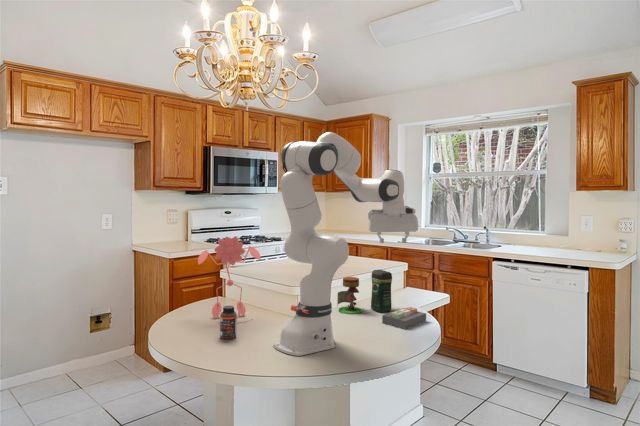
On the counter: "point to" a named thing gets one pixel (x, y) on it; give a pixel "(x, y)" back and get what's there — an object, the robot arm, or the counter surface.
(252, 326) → the counter surface
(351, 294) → the red green toy sculpture
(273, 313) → the counter surface
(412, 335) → the counter surface
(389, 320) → the keypad
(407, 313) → the key mid
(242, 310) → the figurine
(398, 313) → the key left
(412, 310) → the key right
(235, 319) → the supplement bottle
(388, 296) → the coffee jar
